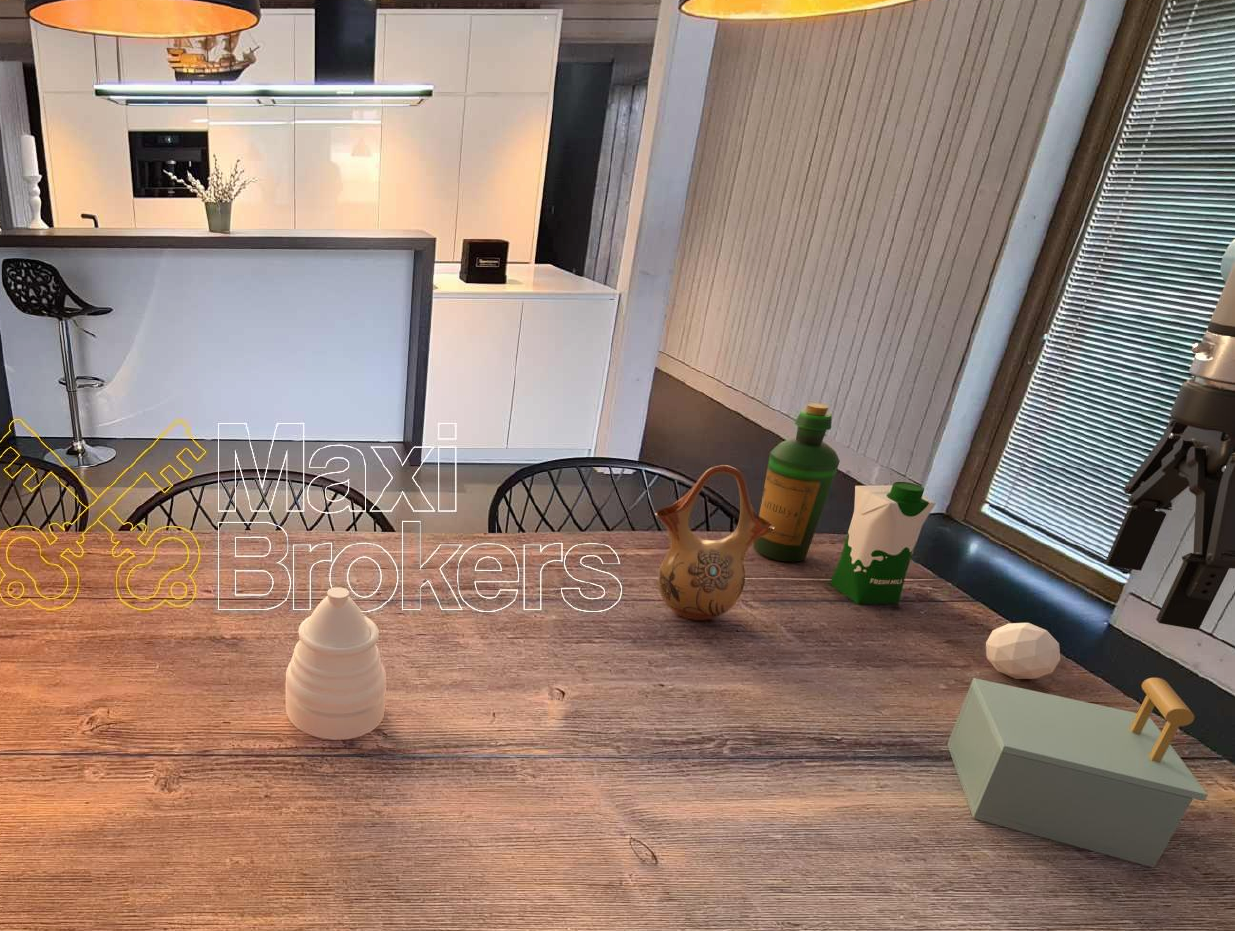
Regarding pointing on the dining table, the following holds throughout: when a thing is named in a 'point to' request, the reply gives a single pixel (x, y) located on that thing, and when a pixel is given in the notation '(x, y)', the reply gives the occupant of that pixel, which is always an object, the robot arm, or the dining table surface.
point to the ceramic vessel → (706, 555)
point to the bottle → (797, 487)
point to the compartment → (1059, 797)
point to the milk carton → (881, 542)
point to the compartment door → (1094, 734)
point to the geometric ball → (1022, 651)
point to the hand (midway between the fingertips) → (1147, 594)
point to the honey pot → (336, 672)
